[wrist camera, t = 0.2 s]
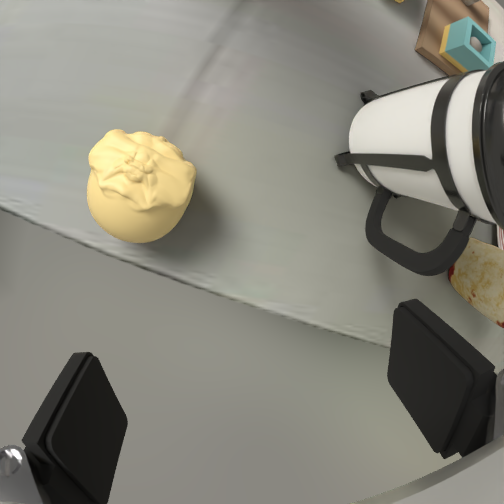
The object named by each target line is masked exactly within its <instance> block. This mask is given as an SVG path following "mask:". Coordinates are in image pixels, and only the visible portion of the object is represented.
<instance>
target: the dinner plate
mask: <svg viewBox="0 0 504 504" xmlns="http://www.w3.org/2000/svg"><path fill="white" fill-rule="evenodd" d="M497 241H498V248H500V249H502V250H504V230H502V229H501V228H500V227H499V226H498V225H497Z"/></svg>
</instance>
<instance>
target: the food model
mask: <svg viewBox="0 0 504 504" xmlns="http://www.w3.org/2000/svg"><path fill="white" fill-rule="evenodd" d="M448 276H449V281H450V283H451V285H452V286H453V287H454V288H455V290H456V291H457V292H458V293H459V294H460V295H461V296H462V297H463V298H464V299H465V300H466V301H467V302H468V303H470V304H471V305H472V306H473V307H474V308H475V309H477V310H478V311H479V312H480V313H481V314H483V315H484V316H486V317H487V318H489V319H490V320H491V321H493V322H494V323H496V324H497V325H499V326H500V327H502V328H504V250H502V249H500V248H498V247H496V246H493V245H491V244H487V243H484V242H481V241H479V240H477V239H475V238H472V237H470V238H469V242H468V244H467V246H466V248H465V250H464V251H463V253H462V254H461V256H460V257H459V259H458V260H457V261H456V262H455V263H454V264H453V265H452V266H451V267H450V269H449V274H448Z"/></svg>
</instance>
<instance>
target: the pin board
mask: <svg viewBox="0 0 504 504" xmlns="http://www.w3.org/2000/svg"><path fill="white" fill-rule="evenodd" d="M468 16H469V17H470V18H471V19H472V20H473V21H474V22H475V23H477V24H478V25H479V26H480V27H481V28H482V29H483V30H484V31H485V32H486V33H487V29H488V18H489V7H488V6H487V5H485V4H484V3H483V2H482V1H481V0H428V1H427V5H426V9H425V14H424V18H423V22H422V25H421V29H420V33H419V37H418V41H417V44H416V48H415V50H416V51H417V52H418V53H420V54H421V55H423V56H424V57H425V58H427V59H428V60H430V61H431V62H432V63H434V64H435V65H436V66H438V67H439V68H440V69H441V70H443V71H444V72H445V73H447V74H448V75H449V76H451V75H455V74H459V73H462V72H461V71H460V70H459V69H458V68H456V67H455V66H454V65H453V64H452V63H450V62H449V61H448V60H447V59H445V58H444V57H443V56H442V55H440V54H439V51H440V47H441V43H442V38H443V33H444V29H445V26H447V25H449V24H452V23H454V22H456V21H459V20H461V19H463V18H466V17H468ZM469 44H470V45H471V46H472V47H473V48H474V49H475V50H476V51H477V52H481V51H482V45H481V43H480V41H479V40H478V39H477V38H476V37H471V38H470V43H469Z"/></svg>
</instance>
